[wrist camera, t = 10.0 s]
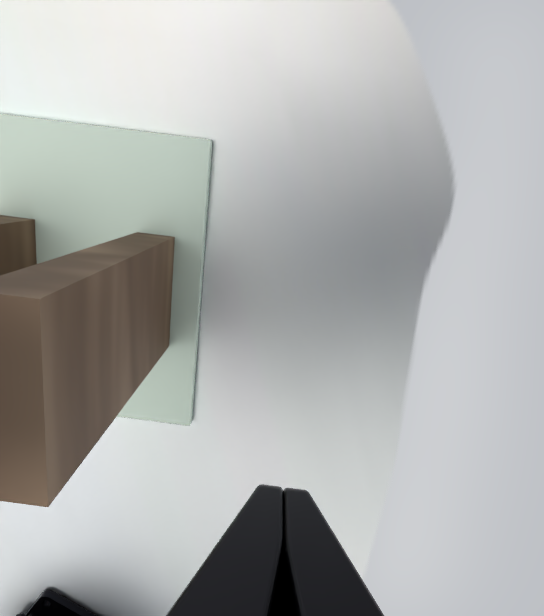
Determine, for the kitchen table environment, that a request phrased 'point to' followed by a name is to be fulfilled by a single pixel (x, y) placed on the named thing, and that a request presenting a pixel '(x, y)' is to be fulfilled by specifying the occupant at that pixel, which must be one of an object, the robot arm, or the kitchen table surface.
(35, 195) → the sage board
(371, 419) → the kitchen table surface
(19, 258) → the domino
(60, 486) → the domino
